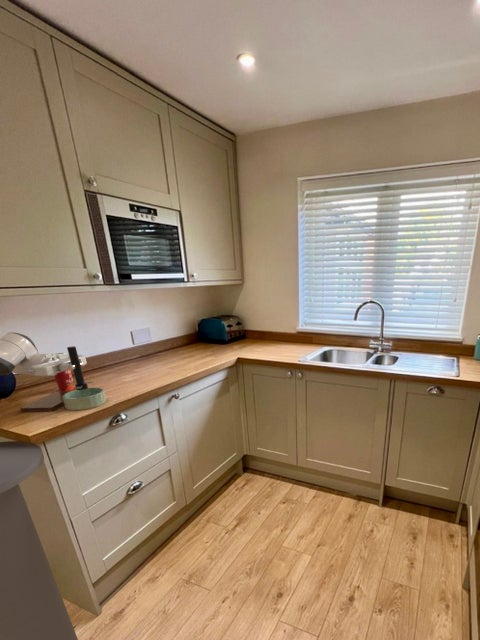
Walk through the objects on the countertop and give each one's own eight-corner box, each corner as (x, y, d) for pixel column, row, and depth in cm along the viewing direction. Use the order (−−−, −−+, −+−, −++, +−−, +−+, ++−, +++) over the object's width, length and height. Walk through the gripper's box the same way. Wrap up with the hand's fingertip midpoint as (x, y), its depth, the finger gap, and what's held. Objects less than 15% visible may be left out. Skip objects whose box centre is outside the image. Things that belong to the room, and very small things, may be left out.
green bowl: (93, 410, 130) (90, 398, 128) (57, 411, 130) (53, 399, 128) (113, 397, 143) (110, 387, 142) (80, 398, 143) (77, 387, 141)
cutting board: (52, 411, 130) (51, 407, 129) (21, 411, 129) (20, 408, 129) (83, 394, 148) (83, 391, 148) (56, 394, 148) (55, 391, 148)
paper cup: (76, 390, 153) (68, 361, 148) (56, 393, 150) (47, 363, 145) (77, 386, 160) (69, 357, 155) (58, 388, 156) (49, 359, 151)
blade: (92, 390, 132) (82, 348, 126) (66, 393, 128) (53, 350, 123) (97, 384, 139) (87, 344, 134) (72, 386, 136) (60, 346, 130)
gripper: (20, 363, 122) (53, 364, 120) (66, 352, 141) (95, 352, 139) (25, 379, 124) (57, 381, 122) (70, 366, 143) (98, 367, 141)
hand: (78, 365), depth 131 cm, fingers closed on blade, 3 cm apart
